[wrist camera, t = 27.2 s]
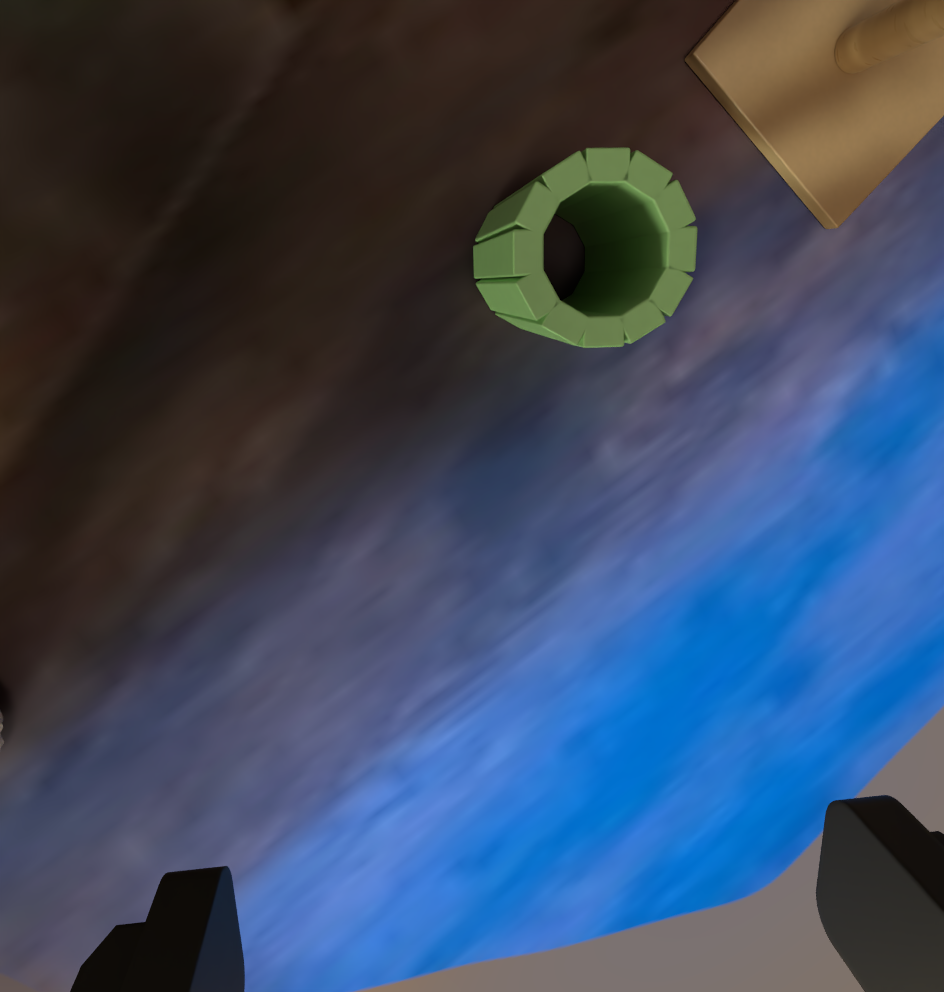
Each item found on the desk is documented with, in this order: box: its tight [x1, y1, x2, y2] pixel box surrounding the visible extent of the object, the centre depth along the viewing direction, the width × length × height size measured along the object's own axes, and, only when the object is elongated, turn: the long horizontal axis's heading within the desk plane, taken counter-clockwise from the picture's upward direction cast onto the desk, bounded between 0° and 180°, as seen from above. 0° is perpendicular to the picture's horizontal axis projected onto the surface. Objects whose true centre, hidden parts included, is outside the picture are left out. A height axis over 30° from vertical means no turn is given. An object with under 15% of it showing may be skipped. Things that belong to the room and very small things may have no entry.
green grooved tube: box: [473, 148, 697, 348], centre depth 28 cm, size 6×6×10 cm
